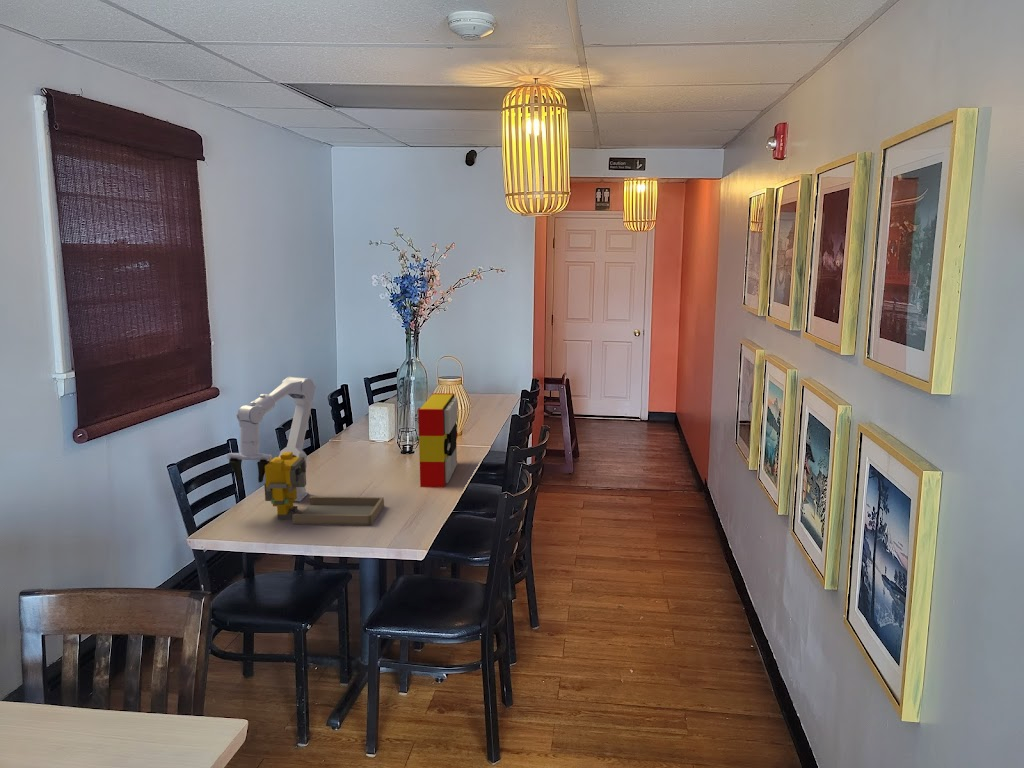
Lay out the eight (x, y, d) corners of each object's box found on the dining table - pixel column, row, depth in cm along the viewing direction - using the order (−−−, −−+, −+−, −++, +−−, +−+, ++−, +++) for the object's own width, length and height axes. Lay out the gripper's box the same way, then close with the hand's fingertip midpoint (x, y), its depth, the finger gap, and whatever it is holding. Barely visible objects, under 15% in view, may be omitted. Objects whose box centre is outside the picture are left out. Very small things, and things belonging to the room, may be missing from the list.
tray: (311, 505, 272) (310, 496, 271) (384, 506, 270) (383, 497, 270) (292, 524, 253) (292, 514, 252) (371, 525, 251) (370, 515, 251)
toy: (301, 521, 256) (298, 463, 252) (262, 521, 256) (258, 463, 252) (312, 507, 270) (309, 451, 266) (275, 507, 270) (271, 452, 266)
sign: (448, 487, 291) (447, 409, 286) (420, 487, 292) (418, 409, 287) (459, 463, 324) (458, 393, 318) (434, 463, 324) (432, 393, 319)
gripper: (223, 442, 254) (223, 482, 256) (266, 444, 254) (266, 484, 255) (232, 438, 261) (232, 478, 263) (274, 440, 261) (274, 480, 262)
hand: (249, 481), depth 259 cm, fingers open, 7 cm apart
